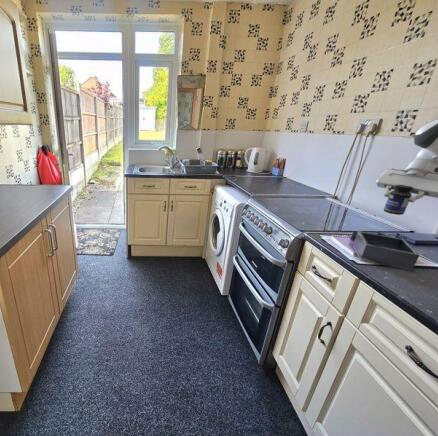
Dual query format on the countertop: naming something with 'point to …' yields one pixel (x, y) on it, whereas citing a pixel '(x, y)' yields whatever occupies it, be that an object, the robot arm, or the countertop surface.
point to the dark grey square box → (385, 250)
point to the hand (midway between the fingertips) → (398, 198)
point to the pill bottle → (398, 200)
